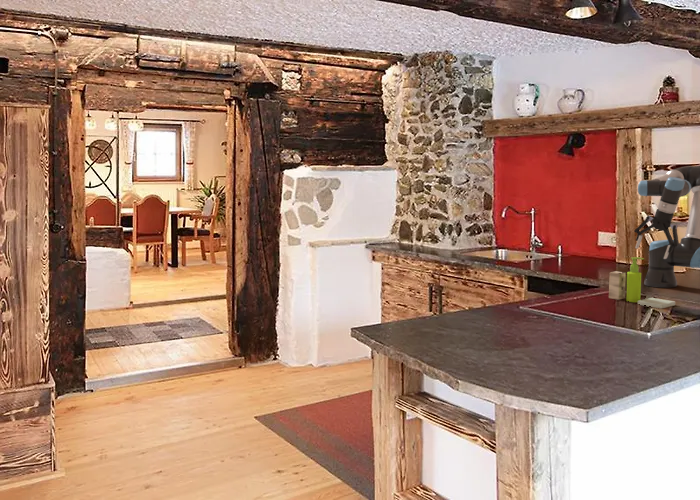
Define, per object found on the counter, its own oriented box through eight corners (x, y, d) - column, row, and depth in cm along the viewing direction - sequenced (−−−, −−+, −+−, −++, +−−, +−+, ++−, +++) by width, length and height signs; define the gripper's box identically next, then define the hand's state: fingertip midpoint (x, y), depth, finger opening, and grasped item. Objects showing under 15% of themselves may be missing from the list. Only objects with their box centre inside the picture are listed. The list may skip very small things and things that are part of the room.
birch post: (615, 296, 313) (615, 270, 311) (625, 298, 308) (626, 272, 307) (608, 297, 310) (609, 271, 308) (618, 299, 305) (619, 273, 304)
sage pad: (651, 301, 301) (651, 297, 301) (675, 305, 292) (675, 301, 292) (637, 304, 295) (637, 300, 294) (661, 308, 286) (661, 304, 285)
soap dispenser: (644, 302, 298) (645, 258, 296) (627, 302, 300) (629, 258, 297) (641, 299, 304) (642, 256, 301) (625, 299, 305) (626, 256, 303)
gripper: (636, 203, 310) (622, 244, 318) (690, 220, 295) (674, 264, 303) (642, 201, 316) (628, 242, 323) (695, 218, 301) (680, 261, 308)
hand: (650, 253), depth 313 cm, fingers open, 13 cm apart
